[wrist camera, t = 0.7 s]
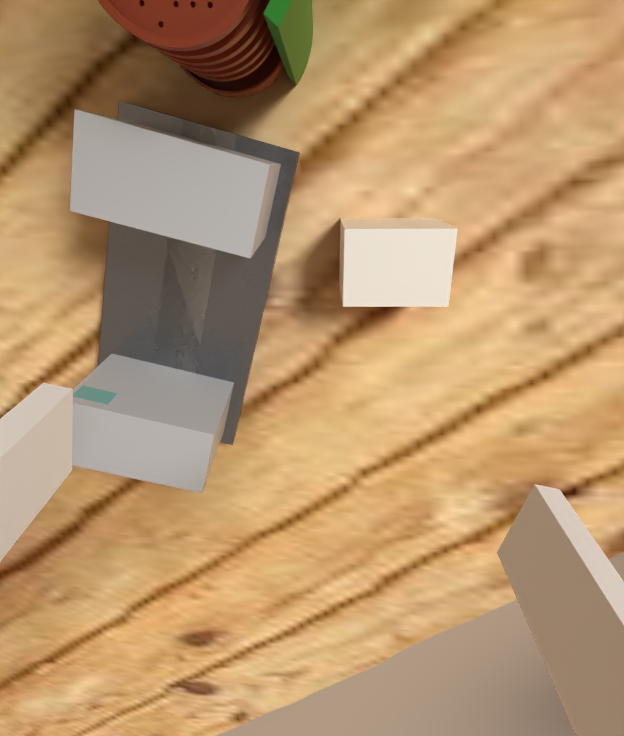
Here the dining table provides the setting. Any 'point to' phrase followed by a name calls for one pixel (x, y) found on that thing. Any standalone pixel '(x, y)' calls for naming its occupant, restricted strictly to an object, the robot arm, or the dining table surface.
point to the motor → (224, 38)
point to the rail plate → (192, 282)
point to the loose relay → (396, 262)
